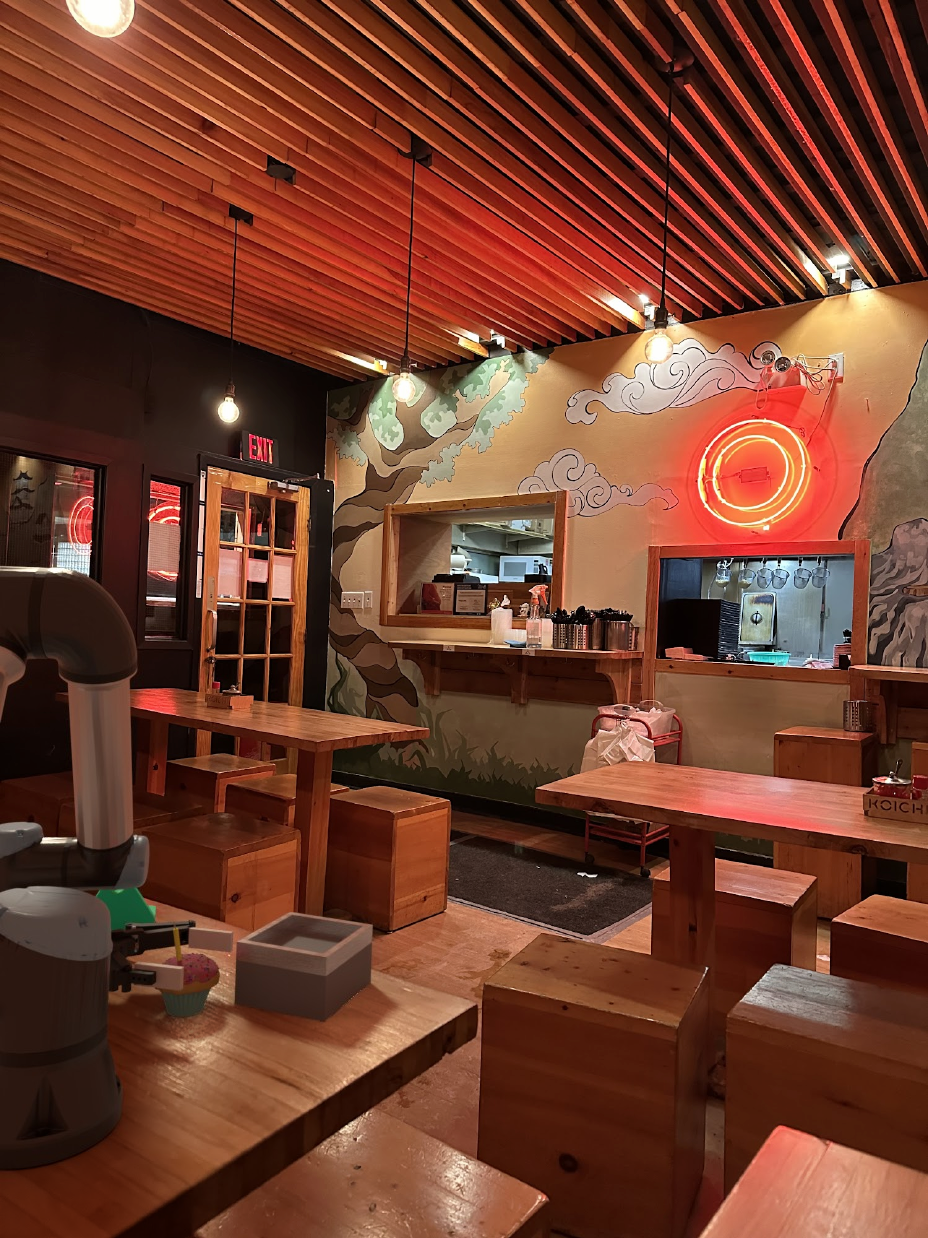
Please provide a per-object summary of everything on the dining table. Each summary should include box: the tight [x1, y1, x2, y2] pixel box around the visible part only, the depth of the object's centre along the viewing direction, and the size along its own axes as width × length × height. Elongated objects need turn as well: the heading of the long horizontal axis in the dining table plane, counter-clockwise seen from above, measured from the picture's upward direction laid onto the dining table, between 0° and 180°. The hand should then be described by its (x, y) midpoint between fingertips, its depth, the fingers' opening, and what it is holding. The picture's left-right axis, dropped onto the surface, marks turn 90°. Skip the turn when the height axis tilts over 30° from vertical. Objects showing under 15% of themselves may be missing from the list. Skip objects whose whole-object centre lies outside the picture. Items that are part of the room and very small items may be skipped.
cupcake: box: [153, 923, 221, 1018], centre depth 115 cm, size 9×8×12 cm
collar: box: [235, 911, 374, 976], centre depth 122 cm, size 14×14×2 cm
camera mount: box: [94, 887, 157, 931], centre depth 145 cm, size 12×8×10 cm, turn 109°
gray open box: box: [234, 931, 373, 1023], centre depth 121 cm, size 14×14×6 cm
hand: (208, 959), depth 115 cm, fingers open, 13 cm apart
